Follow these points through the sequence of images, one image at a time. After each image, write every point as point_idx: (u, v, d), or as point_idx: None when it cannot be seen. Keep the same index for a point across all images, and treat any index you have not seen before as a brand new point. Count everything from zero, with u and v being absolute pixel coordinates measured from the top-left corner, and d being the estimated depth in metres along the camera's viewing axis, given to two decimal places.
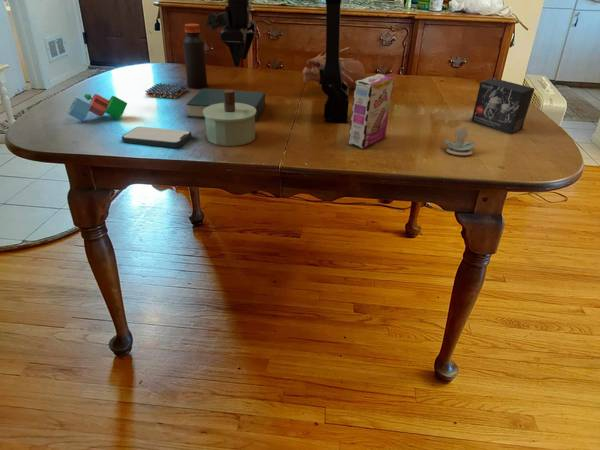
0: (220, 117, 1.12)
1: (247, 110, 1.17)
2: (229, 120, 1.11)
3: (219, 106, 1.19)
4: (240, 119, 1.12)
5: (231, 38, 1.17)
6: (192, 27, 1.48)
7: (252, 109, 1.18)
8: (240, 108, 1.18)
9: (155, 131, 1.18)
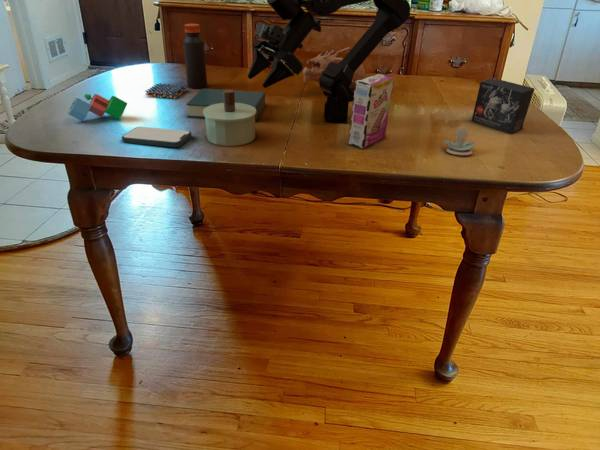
0: (220, 117, 1.12)
1: (247, 110, 1.17)
2: (229, 120, 1.11)
3: (219, 106, 1.19)
4: (240, 119, 1.12)
5: (293, 65, 1.09)
6: (192, 27, 1.48)
7: (252, 109, 1.18)
8: (240, 108, 1.18)
9: (155, 131, 1.18)
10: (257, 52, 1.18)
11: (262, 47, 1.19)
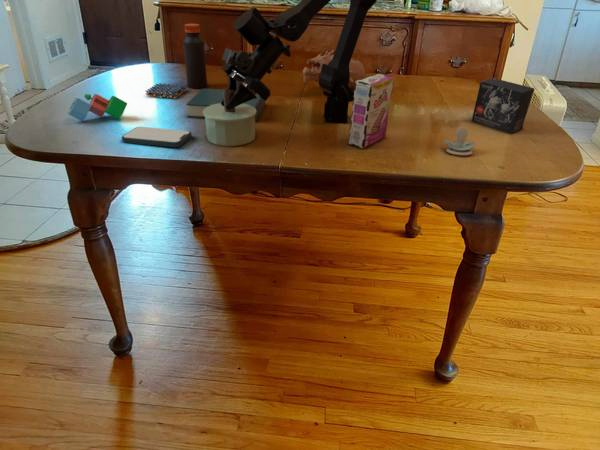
0: (220, 117, 1.12)
1: (247, 110, 1.17)
2: (229, 120, 1.11)
3: (219, 106, 1.19)
4: (240, 119, 1.12)
5: (260, 92, 1.08)
6: (192, 27, 1.48)
7: (252, 109, 1.18)
8: (240, 108, 1.18)
9: (155, 131, 1.18)
10: (231, 79, 1.15)
11: (236, 74, 1.16)
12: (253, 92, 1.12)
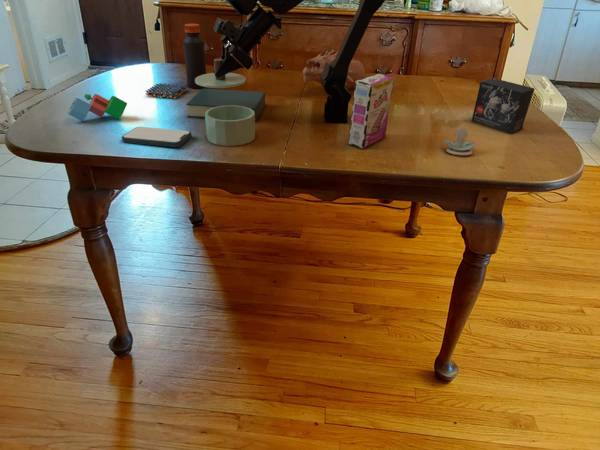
0: (207, 83, 1.18)
1: (236, 79, 1.22)
2: (213, 86, 1.17)
3: (214, 75, 1.26)
4: (224, 86, 1.17)
5: (241, 60, 1.13)
6: (192, 27, 1.48)
7: (242, 79, 1.23)
8: (232, 78, 1.24)
9: (155, 131, 1.18)
10: (223, 48, 1.21)
11: (229, 44, 1.21)
12: None
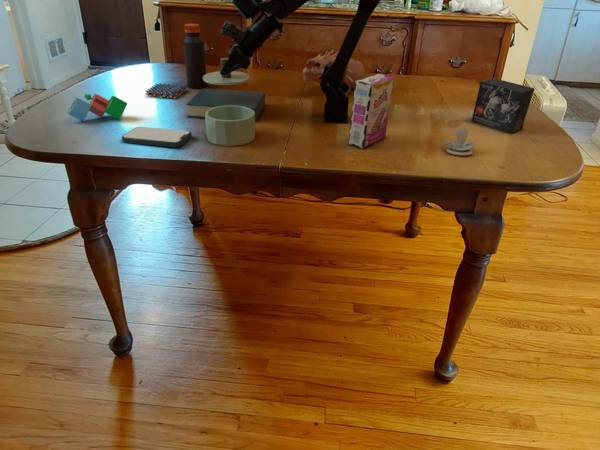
0: (210, 80, 1.29)
1: (239, 78, 1.31)
2: (215, 83, 1.27)
3: None
4: (224, 83, 1.27)
5: (238, 60, 1.22)
6: (192, 27, 1.48)
7: (245, 78, 1.32)
8: (237, 76, 1.33)
9: (155, 131, 1.18)
10: (231, 49, 1.31)
11: None
12: None
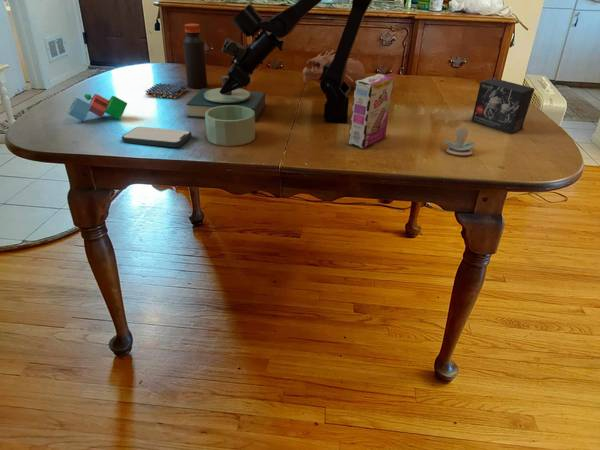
0: (212, 97, 1.32)
1: (240, 96, 1.34)
2: (216, 101, 1.30)
3: None
4: (225, 101, 1.30)
5: (239, 77, 1.24)
6: (192, 27, 1.48)
7: (246, 95, 1.35)
8: (237, 93, 1.36)
9: (155, 131, 1.18)
10: (232, 63, 1.36)
11: None
12: None
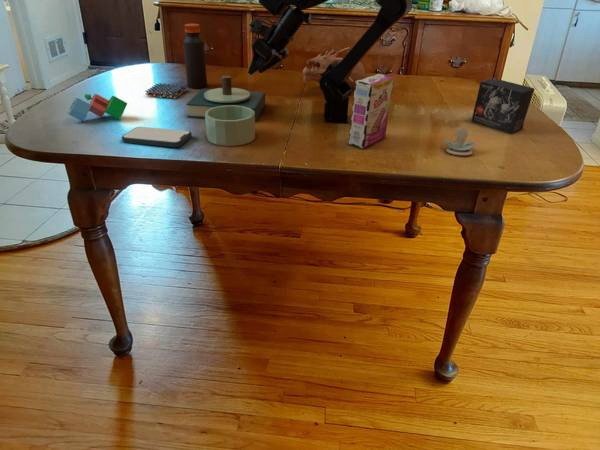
0: (212, 97, 1.32)
1: (240, 96, 1.34)
2: (216, 101, 1.30)
3: None
4: (225, 101, 1.30)
5: (260, 50, 1.22)
6: (192, 27, 1.48)
7: (246, 95, 1.35)
8: (237, 93, 1.36)
9: (155, 131, 1.18)
10: None
11: None
12: (263, 55, 1.23)
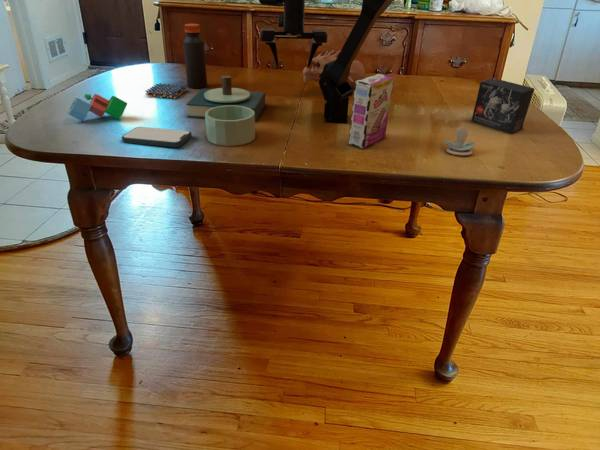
0: (212, 97, 1.32)
1: (240, 96, 1.34)
2: (216, 101, 1.30)
3: None
4: (225, 101, 1.30)
5: None
6: (192, 27, 1.48)
7: (246, 95, 1.35)
8: (237, 93, 1.36)
9: (155, 131, 1.18)
10: (310, 42, 1.33)
11: None
12: None
